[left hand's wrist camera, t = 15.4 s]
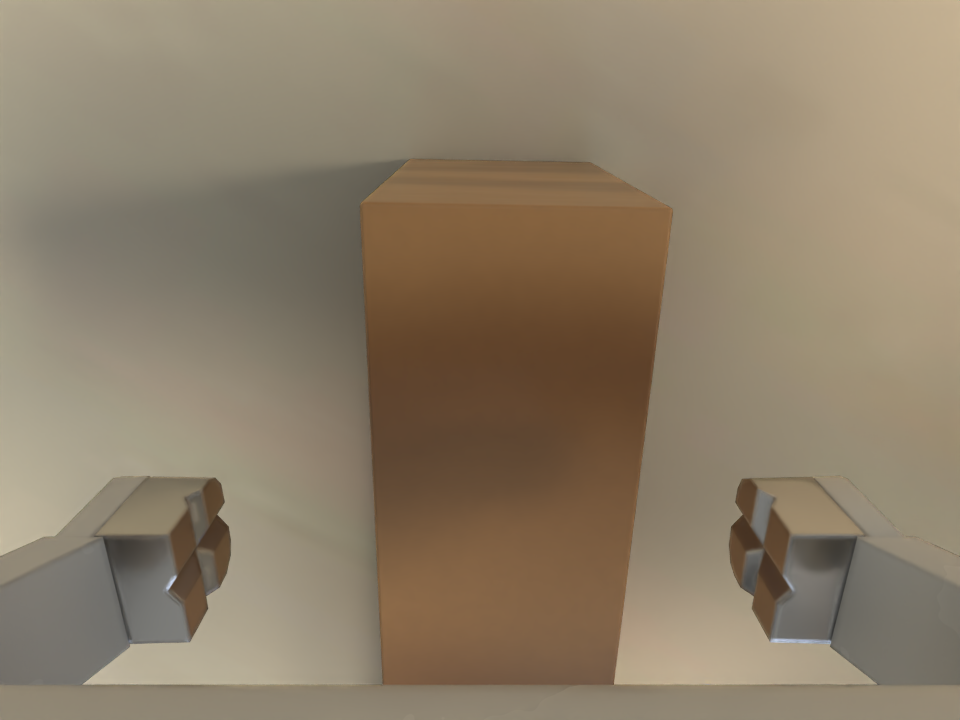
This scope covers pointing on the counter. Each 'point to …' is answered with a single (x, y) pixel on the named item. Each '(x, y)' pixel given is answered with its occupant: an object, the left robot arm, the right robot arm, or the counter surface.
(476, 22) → the counter surface
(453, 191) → the bar
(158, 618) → the left robot arm
